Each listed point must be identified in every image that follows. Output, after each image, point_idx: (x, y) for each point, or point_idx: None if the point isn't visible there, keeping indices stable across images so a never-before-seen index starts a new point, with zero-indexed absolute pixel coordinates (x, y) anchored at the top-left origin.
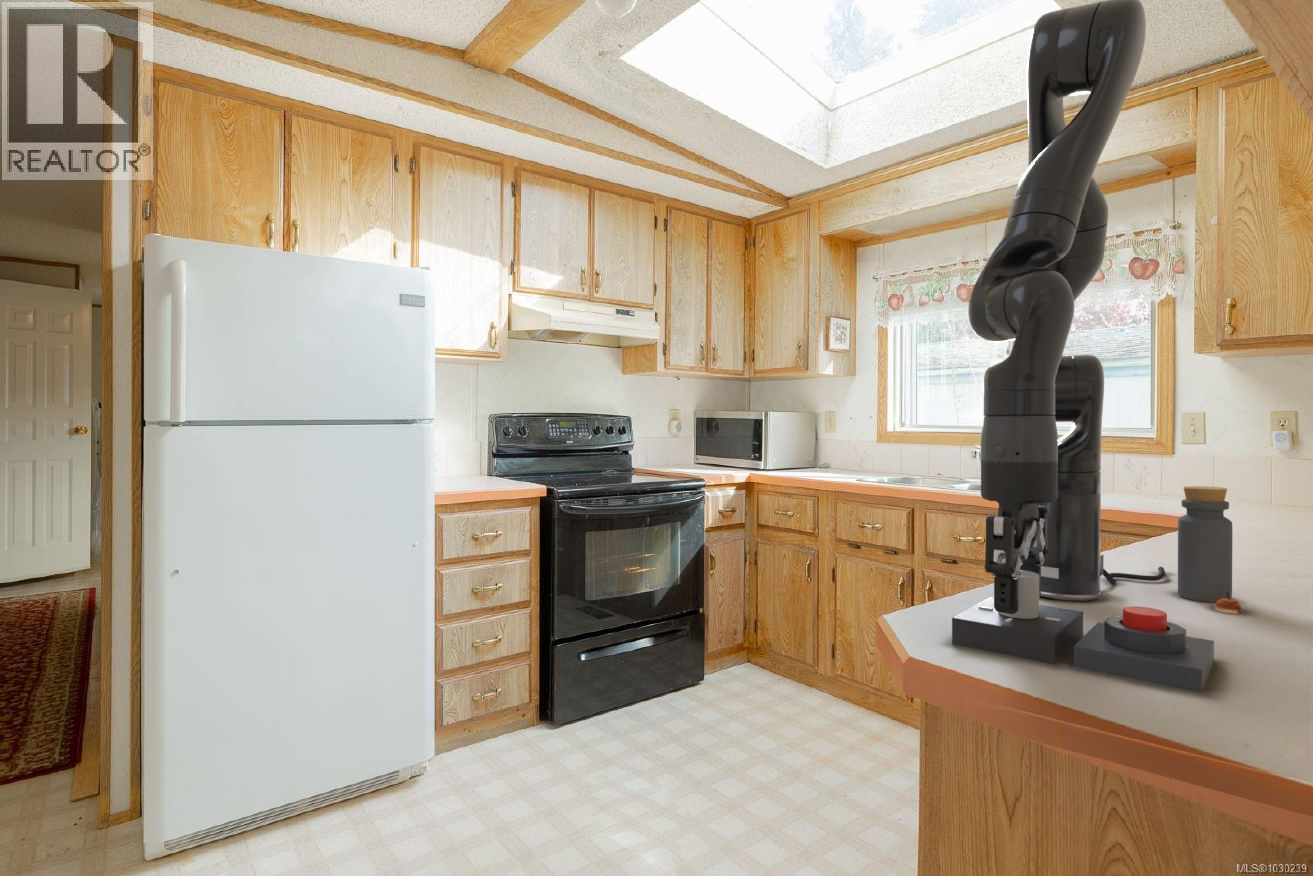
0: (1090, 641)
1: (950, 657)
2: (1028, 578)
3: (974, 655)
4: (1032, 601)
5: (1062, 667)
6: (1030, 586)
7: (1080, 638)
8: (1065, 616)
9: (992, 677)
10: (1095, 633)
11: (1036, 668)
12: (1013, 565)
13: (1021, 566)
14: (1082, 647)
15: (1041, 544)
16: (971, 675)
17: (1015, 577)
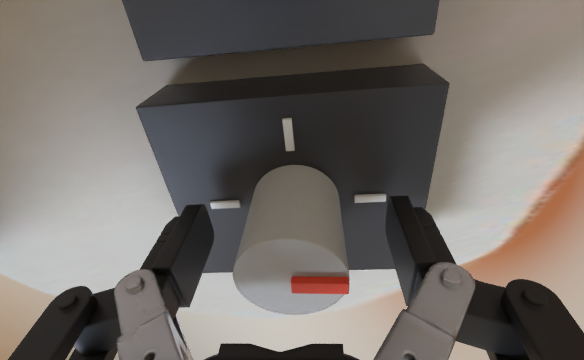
0: (360, 12)
1: (473, 210)
2: (329, 248)
3: (438, 190)
4: (317, 194)
5: (421, 47)
6: (324, 226)
7: (190, 84)
8: (229, 123)
9: (566, 127)
10: (265, 28)
11: (460, 86)
12: (520, 311)
13: (188, 297)
14: (437, 9)
15: (175, 344)
16: (569, 156)
17: (460, 268)
